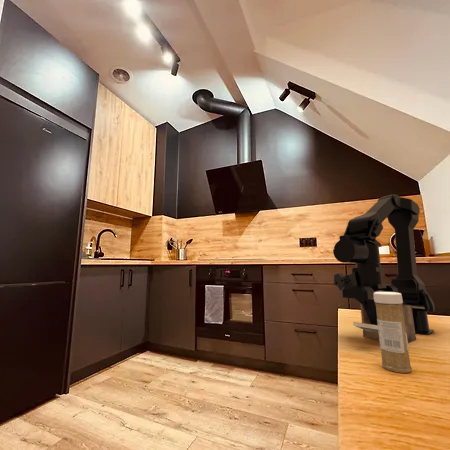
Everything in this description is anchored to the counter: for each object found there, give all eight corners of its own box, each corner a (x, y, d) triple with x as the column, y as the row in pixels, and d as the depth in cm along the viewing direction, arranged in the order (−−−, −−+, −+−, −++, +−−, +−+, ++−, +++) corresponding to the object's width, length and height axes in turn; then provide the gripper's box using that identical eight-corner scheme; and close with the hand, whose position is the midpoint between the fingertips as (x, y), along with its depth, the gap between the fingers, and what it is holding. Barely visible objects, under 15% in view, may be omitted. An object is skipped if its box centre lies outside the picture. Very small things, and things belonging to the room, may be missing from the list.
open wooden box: (376, 332, 72) (373, 302, 73) (416, 339, 64) (411, 305, 66) (363, 336, 67) (360, 304, 69) (404, 344, 60) (400, 308, 61)
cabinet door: (365, 327, 67) (353, 321, 64) (399, 332, 61) (388, 327, 57) (365, 331, 67) (353, 326, 63) (399, 337, 60) (387, 332, 57)
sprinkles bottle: (416, 370, 44) (405, 292, 47) (405, 376, 42) (394, 293, 44) (388, 362, 48) (380, 291, 50) (376, 367, 45) (368, 292, 48)
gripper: (354, 265, 77) (359, 318, 74) (319, 263, 66) (324, 325, 63) (395, 264, 68) (402, 324, 65) (363, 262, 57) (370, 334, 54)
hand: (374, 326), depth 62 cm, fingers closed, pressing on cabinet door
